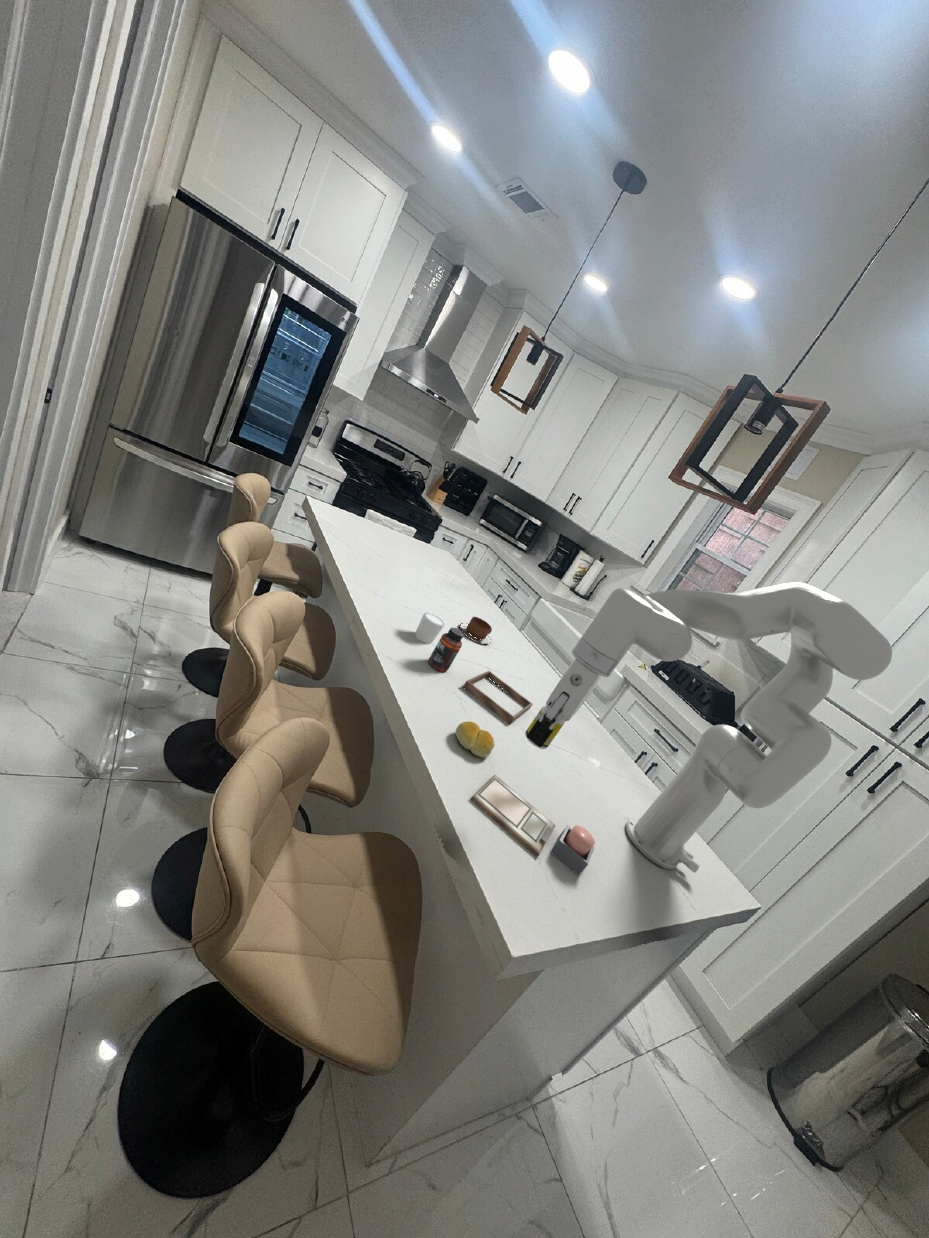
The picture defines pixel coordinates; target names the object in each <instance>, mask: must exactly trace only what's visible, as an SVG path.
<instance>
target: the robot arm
mask: <svg viewBox="0 0 929 1238" xmlns="http://www.w3.org/2000/svg"><path fill="white" fill-rule="evenodd" d="M690 629H694V630H697V631H698V630H699V631H701V632H704V633H707V634H710V635H713V636H715V637H717V638H723V639H726V640H731V641H737V642H741V641H748V640H751V639H757V638H763V637H767V636H768V637H769V636H772V635H778V634H784V633H789V634H790V638H791V639H790V641H791V642H790V643H791V644H790V653H789V657H788V658H787V659H788V660H787V661H786V664H785V665H784V667H783V668H782V669H781V670H780V671H779V672H778V673H777V674H776V675H775V676H774V677H773V678H772V679H771V680H770V681H769V682H768V683H767V684H765V686H764V687H763V688H762V689H760V690H759V691H758V692H757V693H756V694H755V695H754V696H753V697H752V698H751V699H750V700H749V701H748V702H747V703H746V704H745V706H744V707H743V709H742V711H741V713H740V714H741V715H740V716H741V721H742V723H743V724H744V726H745V727H747V728H748V730H749V732H751V733H752V734H753V735H754V736H755V737H757V739H758V740H760V741H761V742H762V743H763V744H764V745H765V746H767V748H768V749H770V750H771V751H770V752H769V753H768V754H767V755H766V754H765V752H763V751H762V750H761V749H760V748H759V746H758V745H756V744H755V743H754V742H753V741H752V740H751V739H749V737H747V736H746V735H745V734H744V733H743V732H742V731H740V730H739V729H737V728H735V727H733V726H731V725H728V724H716V725H713V726H711V727H708V728H707V729H706V730H705V731H704V732H703V733H702V735H700V737H699V739H698V741H697V743H696V745H695V747H694V748H693V751H692V753H691V754H690V756H689V757H688V759H687V760H686V762H685V763H684V765H682V768H680V770H679V771H678V772H677V773H676V775H675V776H674V777H673V778H672V779H671V781H669V783H668V784H667V786H666V787H665V788H664V789H663V790H662V791H661V793H660V794H659V795H658V796H657V797H656V799H655V800H654V801H653V802H652V804H650V806H649V807H648V808H647V810H646V811H644V813H643V814H642V815H641V817H640V818H637V817H632V818H631V817H630V818H629V819H628V820H627V821H626V823H625V830H626V833H627V836H628V837H629V839H630V841H631V842H632V844H633V845H634V846H635V847H636V848H637V850H638V851H639V852H640V853H642V854H643V855H644V856H645V857H646V859H648V860H649V861H651V862H652V863H654V864H655V865H657V866H658V867H661V868H663V869H666V870H674V869H676V868H677V867H678V865H679V864H681V863H682V864H683V865H685V866H686V867H687V869H689V870H690V871H691V872H693V873H697V872H698V870H699V868H700V864H698V863H697V861H695V860H694V855H692V854H691V853H690V852H689V851H687V850H686V849H685V844H686V843H688V842H689V840H690V839H691V837H692V836H694V834H695V833H696V832H697V831H698V830H699V829H700V827H702V825H703V824H704V823H705V822H706V821H707V820H708V818H709V817H711V815H712V814H713V812H715V811H716V810H717V809H718V808H719V806H720V805H721V803H722V802H723V800H724V797H725V795H726V792H727V788H728V790H729V791H731V793H732V794H733V795H734V796H735V797H736V799H738V800H739V801H740V802H741V804H744V805H745V806H747V807H748V808H750V809H751V808H752V809H763V808H766V807H768V806H771V805H773V804H774V803H775V802H777V801H778V800H779V799H781V798H782V797H783V796H785V795H786V794H787V793H788V792H789V791H791V789H793V788H794V787H795V786H796V785H797V784H798V783H799V782H801V781H802V780H803V779H804V778H805V777H806V776H807V775H808V774H810V773H811V772H812V771H813V770H815V768H817V766H818V765H820V764H821V763H822V762H823V760H824V759H826V757H827V755H828V754H829V751H830V749H831V746H832V736H831V733H830V731H829V730H828V728H827V727H826V726H825V725H824V724H823V723H822V722H821V721H819V720H818V719H816V717H814V716H813V715H811V712H812V711H813V710H814V709H815V708H816V707H817V706H818V705H819V704H820V703H821V702H822V701H823V700H824V699H825V698H826V697H827V695H829V693H830V691H831V687H832V684H833V679H834V670H835V671H837V672H839V673H840V674H842V675H844V676H845V677H847V678H850V679H853V680H858V681H865V680H870V679H873V678H876V677H878V676H879V675H881V674H882V673H883V672H885V671H886V670H887V668H888V667H889V665H890V664H891V662H892V658H893V650H892V649H893V648H892V646H891V643H890V642H889V640H888V639H887V637H885V636H884V635H883V634H882V632H880V631H879V630H878V629H877V628H876V627H875V626H874V625H873V624H872V623H871V622H870V621H869V620H868V619H867V618H866V617H865V616H864V615H862V613H861V612H859V611H858V610H857V609H856V608H854V606H852V604H850V603H848V602H847V601H845V600H843V599H841V598H838V597H837V596H835V595H832V594H830V593H828V592H826V591H823V590H821V589H819V588H817V587H814V586H812V585H809V584H808V583H803V582H795V581H793V582H786V583H780V584H776V585H775V584H774V585H773V584H772V585H769V586H764V587H763V586H762V587H758V588H752V589H748V590H747V589H746V590H745V589H744V590H741V591H735V592H723V591H722V592H721V591H712V590H711V591H708V590H706V591H705V590H693V589H670V590H669V589H668V590H661V591H655V592H651V593H650V592H649V593H645V594H643V595H642V594H641V595H637V594H635V593H634V592H632V591H631V590H628V589H627V588H623V587H618V588H616V589H614V590H613V591H612V592H611V594H610V595H609V596H608V598H607V599H606V600H605V601H604V603H603V605H602V607H601V608H600V609H599V611H598V612H597V614H596V615H595V616H594V618H593V620H592V621H591V622H590V624H589V626H588V627H587V629H586V630H585V631H584V632H583V634H582V635H581V636H580V638H579V639H578V641H577V643H576V644H575V646H574V647H573V649H572V650H571V654H572V656H573V657H574V659H573V660H572V662H571V664H570V665H569V666H568V667H567V669H566V670H565V672H564V674H563V675H562V676H561V678H560V679H559V681H558V682H557V683H556V686H555V687H554V689H553V690H552V692H551V693H550V695H549V697H548V699H547V700H546V702H545V706H547V707H548V708H547V709H546V711H545V712H544V713H543V715H542V716H541V717H540V719H538V720H537V721H536V723H535V724H534V726H533V727H532V729H531V730H530V731H529V733H528V734H527V738H528V739H529V740H531V741H532V742H533V743H535V744H536V745H537V746H538V747H542V746H543V745H544V743H545V742H546V740H547V739H548V738H549V736H550V735H551V733H552V732H553V731H554V730H553V728H554V726H555V725H556V724H557V722H558V721H559V720H560V718H561V717H563V718H564V719H565V722H569V721H570V720H571V719H572V718H573V717H574V716H575V715H576V714H577V713H578V712H579V710H580V709H581V707H582V706H583V705H584V703H585V701H587V699H588V697H589V696H590V695H591V693H592V691H593V690H594V688H595V687H596V686H597V685H598V683H599V681H600V680H601V679H602V677H605V678H610V676H611V675H612V674H613V672H614V671H615V669H616V668H617V667H618V665H619V663H621V661H622V660H623V658H624V657H625V655H626V654H627V653H628V651H629V650H630V649H631V647H632V646H633V645H634V646H637V647H638V648H640V649H641V650H643V651H644V652H645V653H647V654H648V655H649V656H651V657H653V658H655V659H656V660H658V661H663V662H674V661H678V660H680V659H682V658H683V657H685V656H686V655H687V654H688V653H689V651H690V650H691V648H692V643H693V636H692V633H691V630H690ZM552 705H553V706H552ZM559 710H560V711H562V713H561V714H559V713H558V711H559ZM555 716H557V718H556V719H555V718H554V717H555ZM527 738H526V739H527ZM528 739H527V740H528ZM538 747H537V748H538Z"/></svg>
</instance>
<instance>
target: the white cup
mask: <svg viewBox="0 0 929 1238" xmlns="http://www.w3.org/2000/svg"><path fill="white" fill-rule="evenodd" d="M444 627H445V622H444V620H442V619H441V618H440V617H438V616H437V615H434V614H433V613H430V612H424V613H423V615H422V617H421V619H420V621H419V624H418V625H417V628H416V631H415V633H414V636H415V638H416V639H417V640H419V641H420V642H422V643H424V644H426V643H428V644H427V645H431V644H433V642H434V641H435V640H436V639H437V637H438V635H439V634H440V633H441V631H442V630H443V628H444ZM430 643H431V644H430Z"/></svg>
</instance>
